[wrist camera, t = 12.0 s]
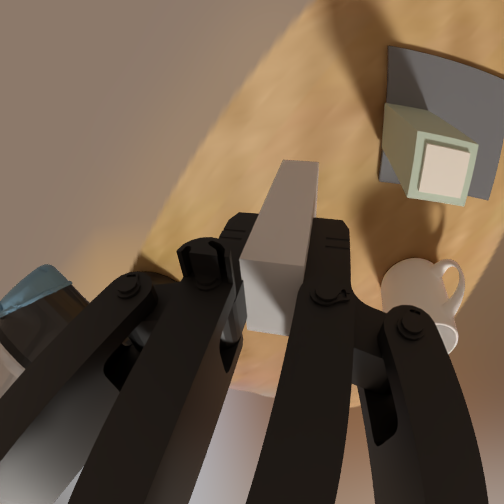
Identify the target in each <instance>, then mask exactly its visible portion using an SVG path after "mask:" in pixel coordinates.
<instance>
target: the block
mask: <svg viewBox="0 0 504 504" xmlns="http://www.w3.org/2000/svg"><path fill="white" fill-rule="evenodd" d="M478 146H479V144H477V143H476V142H475V141H473V140H472V139H470V138H469V137H468V136H466V135H465V134H463V133H462V132H461V131H459V130H458V129H456V128H455V127H453V126H452V125H450V124H449V123H447V122H446V121H444V120H443V119H441V118H440V117H438V116H436V115H435V114H433V113H431V112H430V111H428V110H423V109H418V108H413V107H407V106H402V105H395V104H389V103H385V106H384V122H383V135H382V146H381V147H382V149H383V151H384V153H385V154H386V156H387V158H388V160H389V162H390V164H391V166H392V168H393V170H394V172H395V174H396V176H397V178H398V180H399V182H400V184H401V186H402V188H403V190H404V192H405V194H406V196H407V198H413V199H420V200H427V201H434V202H440V203H446V204H452V205H458V206H464V205H465V202H466V198H467V195H468V191H469V187H470V183H471V179H472V175H473V170H474V166H475V161H476V156H477V151H478Z"/></svg>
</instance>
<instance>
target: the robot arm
mask: <svg viewBox="0 0 504 504" xmlns="http://www.w3.org/2000/svg"><path fill="white" fill-rule="evenodd" d="M318 170H319V162H310V161H295V160H283V161H282V163H281V165H280V168H279V170H278V172H277V174H276V177H275V179H274V181H273V183H272V186H271V188H270V190H269V192H268V195H267V197H266V199H265V201H264V204H263V206H262V208H261V210H260V213H259V214H255V213H242V212H239V213H238V214H236V215H235V216H233V217H232V218H231V219H229V221H228V222H227V224H226V226H225V228H224V231H222V233H221V234H220V236H219V238H218V239H217V238H213V237H204V238H198V239H194V240H191V241H189V242H187V243H185V244H183V245H182V246H181V247H180V248H179V249H178V250H177V255H178V259H179V263H180V266H181V270H182V273H183V279H182V280H181V282H175V281H174V280H172V279H170V278H168V277H166V276H163V275H160V274H157V273H153V272H129V273H127V274H124V275H121V276H120V277H119V278H117V279H116V280H114V281H113V282H112V283H111V284H110V285H109V286H108V287H106V288H105V289H104V290H103V291H102V292H101V293H100V294H99V295H98V296H97V297H96V298H95V299H94V300H93V301H91V302H90V303H89V302H88V301H87V300H86V299H85V298H84V297H83V296H82V295H81V294H80V293H79V292H78V291H77V290H76V289H75V288H74V287H73V286H72V282H71V281H68V280H67V279H66V278H65V277H64V276H63V275H62V274H61V273H60V272H59V271H58V270H57V269H56V268H55V267H54V266H52V265H48V264H45V265H42V266H40V267H38V268H37V269H35V270H34V271H32V272H31V273H30V274H29V275H27V276H26V277H25V278H24V279H22V280H21V281H20V282H19V283H18V284H17V285H16V286H15V287H14V288H12V290H10V291H9V292H8V294H6V295H5V297H3V299H2V300H1V301H0V504H53V503H54V502H55V501H56V499H57V498H58V497H59V496H60V494H61V493H62V492H63V491H64V490H65V488H66V487H67V486H68V485H69V483H70V482H71V481H72V480H73V479H74V477H75V476H76V475H77V473H78V472H79V471H80V470H81V469H82V467H83V466H84V467H83V470H82V472H81V474H80V476H79V479H78V481H77V483H76V485H75V488H74V490H73V492H72V495H71V497H70V499H69V502H68V504H188V503H189V500H190V498H191V495H192V492H193V489H194V487H195V484H196V481H197V478H198V475H199V473H200V470H201V467H202V464H203V461H204V458H205V455H206V453H207V450H208V447H209V444H210V441H211V438H212V435H213V433H214V430H215V426H216V424H217V421H218V418H219V415H220V412H221V409H222V406H223V403H224V400H225V397H226V394H227V391H228V388H229V385H230V382H231V379H232V376H233V373H234V370H235V367H236V364H237V361H238V358H239V355H240V352H241V349H242V346H243V335H242V331H243V328H244V325H245V322H247V330H252V331H258V332H264V333H271V334H278V335H285V336H289V339H288V343H287V348H286V353H285V357H284V362H283V366H282V370H281V375H280V379H279V383H278V387H277V392H276V396H275V400H274V404H273V408H272V412H271V416H270V420H269V424H268V428H267V432H266V435H265V439H264V443H263V446H262V450H261V453H260V457H259V461H258V464H257V468H256V471H255V475H254V478H253V481H252V485H251V488H250V491H249V495H248V498H247V501H246V504H335V499H336V494H337V489H338V484H339V479H340V473H341V467H342V461H343V454H344V448H345V440H346V433H347V424H348V416H349V407H350V396H351V384H354V385H357V388H358V393H359V398H360V403H361V408H362V414H363V419H364V425H365V431H366V437H367V443H368V450H369V457H370V464H371V472H372V480H373V488H374V498H375V504H488V496H487V490H486V483H485V477H484V472H483V467H482V462H481V457H480V453H479V448H478V445H477V440H476V437H475V433H474V429H473V426H472V422H471V418H470V415H469V412H468V408H467V405H466V402H465V399H464V396H463V393H462V390H461V387H460V384H459V381H458V379H457V376H456V373H455V370H454V368H453V365H452V363H451V360H450V357H449V355H448V352H447V350H446V348H445V345H444V343H443V340H442V338H441V336H440V333H439V331H438V329H437V327H436V324H435V322H434V321H433V320H432V318H431V317H430V315H429V314H427V313H426V312H425V311H424V310H422V309H421V308H418V307H415V306H413V305H399V306H396V307H393V308H392V309H391V310H390V311H389V312H387V313H385V312H382V311H380V310H377V309H374V308H372V307H370V306H368V305H366V304H364V303H363V302H362V301H360V300H359V299H358V298H357V296H356V295H355V294H354V292H353V290H352V287H351V267H350V236H349V229H348V227H347V226H346V224H345V223H344V222H343V220H334V219H324V218H316V208H317V191H318Z"/></svg>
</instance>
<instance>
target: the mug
mask: <svg viewBox="0 0 504 504" xmlns="http://www.w3.org/2000/svg"><path fill="white" fill-rule="evenodd" d="M451 266H454V267H456V268H457V269H458V271H459V283H458V287H457V289H456V291H455V292H454V294H453V295H452V296H451V298H450V299H448V295H447V292H446V289H445V286H444V283H443V280H442V276H443V274H444V272H445V271H446V270H447V268H449V267H451ZM464 290H465V279H464V275H463V272H462V269H461V267H460V266H459V265H458V263H457V262H455V261H454V260H452V259H444V260H441V261H439V262H437V263H435V264H433V263H432V262H430V261H428V260H426V259H422V258H410V259H406V260H403V261H400V262H398V263H397V264H395V265H394V266H392V267H391V268H390V269H389V270H388V271H387V273H386V274H385V276H384V278H383V280H382V284H381V297H382V307H383V312H385V313H387V312H389V311H390V310H391V309H392V308H393V307H396V306H399V305H413V306H415V307H418V308H421V309H422V310H424V311H425V312H426V313H427V314H429V315H430V317H431V318H432V320H433V321H434V322H435V324H436V327H437V329H438V331H439V333H440V336H441V338H442V340H443V343H444V345H445V348H446V350H447V352H448V354H449V353H450V352H451V351H452V350H453V349H454V348H455V346H456V344H457V342H458V332H457V328H456V324H455V320H454V316H455V314H456V312H457V310H458V308H459V306H460V304H461V302H462V298H463V295H464Z"/></svg>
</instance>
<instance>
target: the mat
mask: <svg viewBox="0 0 504 504" xmlns="http://www.w3.org/2000/svg"><path fill="white" fill-rule="evenodd" d="M386 103H389V104H395V105H402V106H407V107H413V108H418V109H423V110H428V111H430V112H431V113H433V114H435V115H436V116H438V117H440V118H441V119H443V120H444V121H446V122H447V123H449V124H450V125H452V126H453V127H455V128H456V129H458V130H459V131H461V132H462V133H463V134H465V135H466V136H468V137H469V138H470V139H472V140H473V141H475V142H476V143H477V144H479V146H478V151H477V156H476V161H475V166H474V170H473V175H472V179H471V183H470V187H469V191H468V195H467V196H471V197H475V198H480V199H485V200H489V197H490V193H491V190H492V186H493V183H494V179H495V175H496V171H497V167H498V163H499V158H500V154H501V149H502V144H503V139H504V79H501V78H499V77H497V76H494V75H492V74H489V73H487V72H484V71H481V70H479V69H476V68H473V67H470V66H467V65H464V64H461V63H458V62H455V61H452V60H448V59H445V58H441V57H438V56H434V55H430V54H426V53H422V52H418V51H413V50H409V49H404V48H399V47H393V46H388V74H387V98H386ZM379 181H381V182H389V183H396V184H400V182H399V180H398V178H397V176H396V174H395V172H394V170H393V168H392V166H391V164H390V162H389V160H388V158H387V156H386V154H385V153H384V151H383V149H382V156H381V164H380V171H379Z"/></svg>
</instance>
